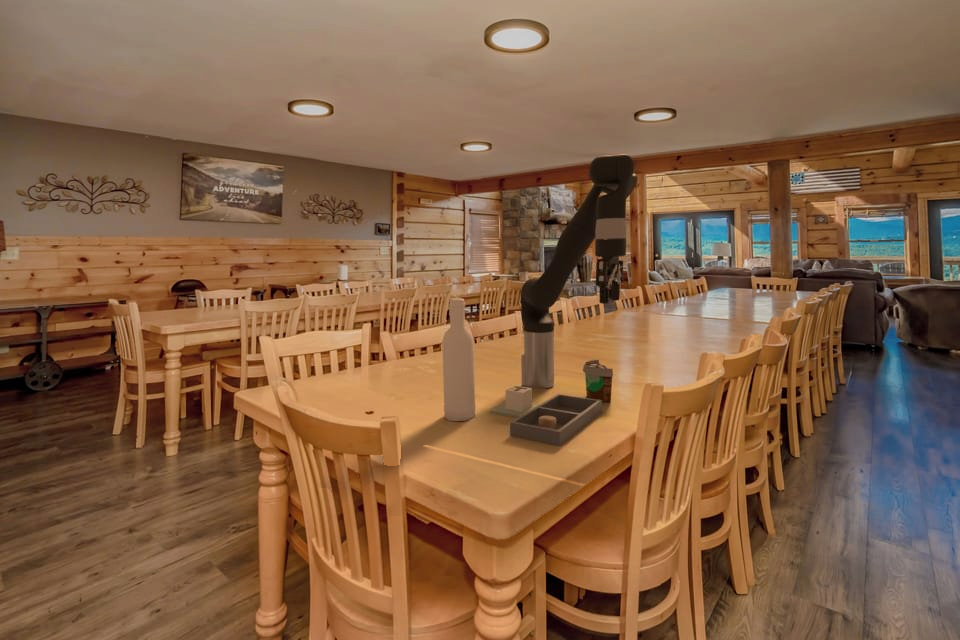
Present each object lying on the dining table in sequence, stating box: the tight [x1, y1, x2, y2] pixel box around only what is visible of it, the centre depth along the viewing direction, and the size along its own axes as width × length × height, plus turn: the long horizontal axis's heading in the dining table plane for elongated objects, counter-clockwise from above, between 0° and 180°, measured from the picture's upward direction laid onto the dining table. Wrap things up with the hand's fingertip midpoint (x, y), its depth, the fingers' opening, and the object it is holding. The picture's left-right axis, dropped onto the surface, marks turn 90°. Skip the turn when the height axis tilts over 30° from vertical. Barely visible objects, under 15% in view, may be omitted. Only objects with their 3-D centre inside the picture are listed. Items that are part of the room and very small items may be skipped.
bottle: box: [441, 297, 476, 422], centre depth 122 cm, size 8×8×30 cm
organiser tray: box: [509, 393, 603, 447], centre depth 117 cm, size 12×26×4 cm, turn 147°
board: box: [489, 401, 541, 419], centre depth 127 cm, size 11×11×1 cm
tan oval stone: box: [539, 416, 556, 430], centre depth 112 cm, size 4×4×3 cm
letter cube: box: [505, 385, 533, 412], centre depth 127 cm, size 5×5×5 cm
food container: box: [582, 359, 614, 404], centre depth 136 cm, size 12×6×10 cm, turn 5°
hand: (609, 301), depth 125 cm, fingers open, 8 cm apart
